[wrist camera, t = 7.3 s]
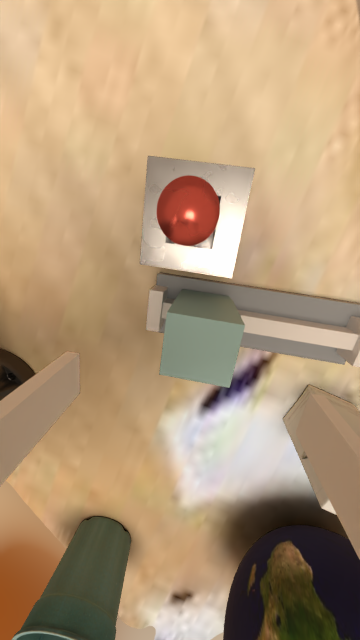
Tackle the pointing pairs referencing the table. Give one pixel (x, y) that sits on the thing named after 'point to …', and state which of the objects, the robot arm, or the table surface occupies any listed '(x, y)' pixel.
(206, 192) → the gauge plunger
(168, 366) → the sage green rectangular prism
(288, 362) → the table surface
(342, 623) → the globe
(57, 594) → the flower pot
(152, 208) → the grey boxy piece
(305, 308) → the rail
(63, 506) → the table surface
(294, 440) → the supplement box
